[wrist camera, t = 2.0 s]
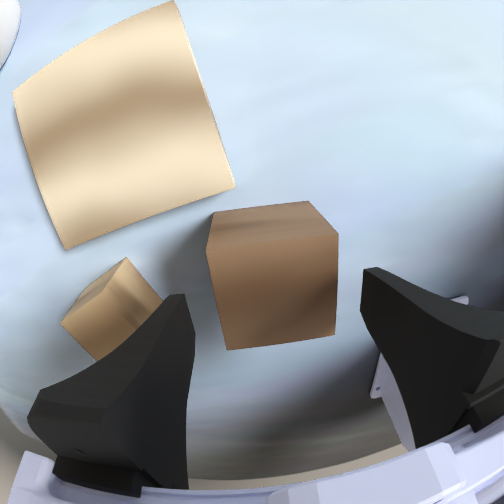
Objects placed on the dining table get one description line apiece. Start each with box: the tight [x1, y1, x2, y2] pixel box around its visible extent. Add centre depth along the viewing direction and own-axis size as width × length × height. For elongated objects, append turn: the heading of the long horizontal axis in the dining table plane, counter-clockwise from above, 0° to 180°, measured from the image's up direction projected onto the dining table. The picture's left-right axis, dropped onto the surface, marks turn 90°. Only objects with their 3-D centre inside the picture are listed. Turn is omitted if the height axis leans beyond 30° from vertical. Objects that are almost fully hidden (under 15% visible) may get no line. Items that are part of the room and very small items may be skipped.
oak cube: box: [60, 257, 163, 361], centre depth 15 cm, size 4×4×4 cm
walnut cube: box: [206, 201, 338, 350], centre depth 14 cm, size 5×5×5 cm
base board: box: [12, 0, 235, 250], centre depth 12 cm, size 10×10×2 cm
